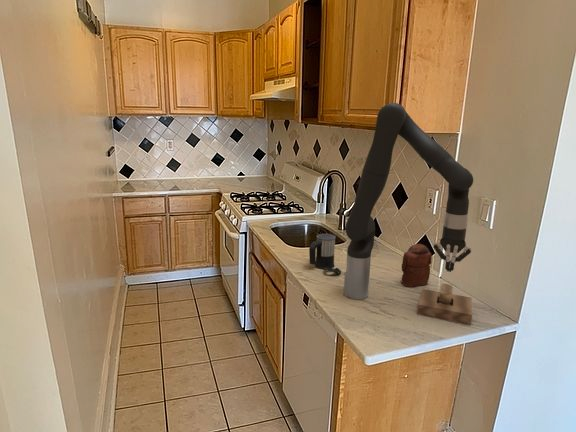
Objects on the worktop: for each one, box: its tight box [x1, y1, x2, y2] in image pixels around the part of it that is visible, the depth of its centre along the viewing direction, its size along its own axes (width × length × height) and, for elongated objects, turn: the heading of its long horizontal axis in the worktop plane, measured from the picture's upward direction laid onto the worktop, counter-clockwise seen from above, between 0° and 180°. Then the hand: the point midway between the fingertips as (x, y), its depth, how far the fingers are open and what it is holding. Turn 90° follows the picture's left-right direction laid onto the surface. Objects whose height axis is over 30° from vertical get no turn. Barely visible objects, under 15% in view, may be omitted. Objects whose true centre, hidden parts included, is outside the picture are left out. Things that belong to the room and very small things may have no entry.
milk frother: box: [308, 233, 342, 275], centre depth 179 cm, size 14×16×15 cm
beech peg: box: [439, 283, 454, 305], centre depth 143 cm, size 4×4×10 cm
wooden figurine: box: [400, 243, 433, 288], centre depth 164 cm, size 12×6×18 cm, turn 108°
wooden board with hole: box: [416, 288, 473, 326], centre depth 144 cm, size 18×14×4 cm
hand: (449, 270), depth 140 cm, fingers closed
